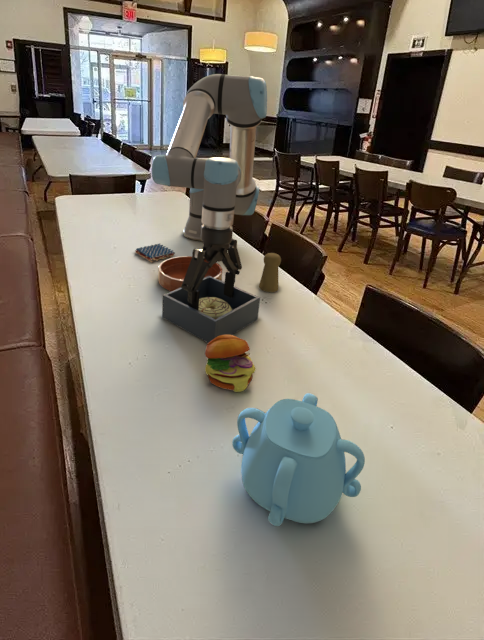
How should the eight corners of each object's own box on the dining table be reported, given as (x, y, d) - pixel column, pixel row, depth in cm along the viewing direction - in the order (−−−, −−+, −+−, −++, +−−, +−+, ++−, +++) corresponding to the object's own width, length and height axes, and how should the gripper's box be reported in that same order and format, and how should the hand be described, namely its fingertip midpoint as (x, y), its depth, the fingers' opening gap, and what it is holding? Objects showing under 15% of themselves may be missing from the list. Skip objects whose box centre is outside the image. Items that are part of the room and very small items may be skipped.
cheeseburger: (219, 401, 78) (216, 351, 77) (196, 379, 88) (193, 334, 86) (264, 387, 83) (262, 339, 81) (238, 367, 92) (235, 325, 91)
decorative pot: (224, 449, 68) (230, 382, 63) (312, 435, 73) (325, 371, 67) (257, 549, 54) (269, 472, 49) (365, 523, 58) (386, 450, 53)
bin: (207, 296, 118) (209, 275, 116) (257, 319, 108) (260, 297, 106) (162, 317, 106) (162, 294, 103) (213, 346, 96) (215, 321, 93)
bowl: (189, 264, 139) (190, 251, 138) (233, 282, 128) (235, 269, 127) (145, 280, 125) (145, 266, 124) (190, 302, 114) (191, 288, 112)
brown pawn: (256, 289, 125) (260, 255, 121) (262, 281, 130) (266, 249, 126) (275, 293, 123) (280, 259, 119) (280, 286, 128) (285, 253, 124)
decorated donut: (237, 314, 109) (239, 301, 108) (217, 332, 100) (218, 318, 99) (204, 302, 114) (205, 290, 112) (182, 318, 105) (182, 305, 103)
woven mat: (133, 253, 144) (133, 247, 144) (159, 247, 151) (159, 242, 150) (150, 263, 137) (150, 257, 137) (176, 256, 144) (176, 251, 143)
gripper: (192, 240, 86) (187, 327, 94) (260, 219, 105) (252, 294, 113) (167, 231, 91) (165, 315, 99) (237, 212, 109) (230, 284, 117)
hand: (211, 304), depth 106 cm, fingers open, 13 cm apart
